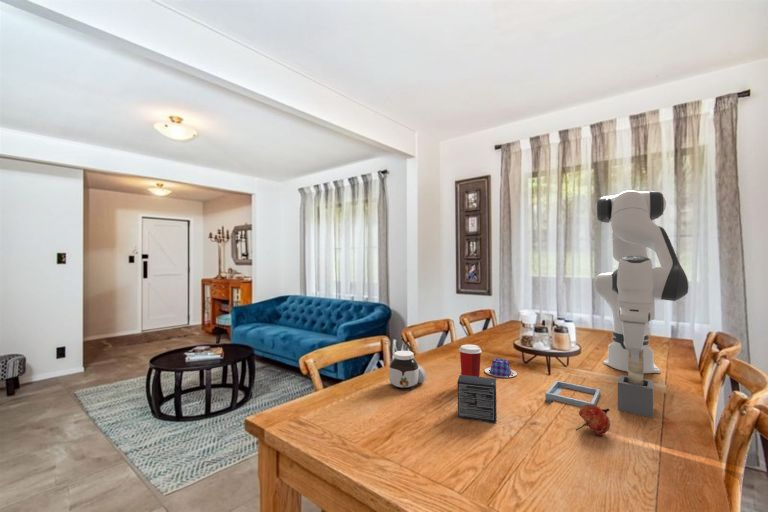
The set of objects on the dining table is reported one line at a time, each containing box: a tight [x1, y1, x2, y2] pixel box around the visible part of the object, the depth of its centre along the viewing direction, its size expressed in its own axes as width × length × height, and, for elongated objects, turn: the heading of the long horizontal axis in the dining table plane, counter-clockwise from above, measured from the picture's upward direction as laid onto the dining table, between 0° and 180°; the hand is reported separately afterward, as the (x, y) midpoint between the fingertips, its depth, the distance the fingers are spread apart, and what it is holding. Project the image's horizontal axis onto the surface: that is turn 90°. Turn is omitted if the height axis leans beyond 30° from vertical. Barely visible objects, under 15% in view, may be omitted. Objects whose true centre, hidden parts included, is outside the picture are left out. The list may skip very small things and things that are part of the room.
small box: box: [456, 374, 498, 424], centre depth 97 cm, size 11×6×10 cm, turn 71°
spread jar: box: [388, 350, 427, 391], centre depth 121 cm, size 12×11×12 cm
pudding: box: [484, 358, 518, 378], centre depth 133 cm, size 12×12×5 cm
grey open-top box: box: [617, 374, 655, 419], centre depth 99 cm, size 8×8×9 cm
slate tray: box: [545, 380, 601, 408], centre depth 108 cm, size 14×13×2 cm
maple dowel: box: [627, 349, 644, 386], centre depth 99 cm, size 4×4×13 cm
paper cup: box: [458, 344, 482, 377], centre depth 119 cm, size 8×8×14 cm
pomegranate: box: [575, 404, 611, 436], centre depth 88 cm, size 7×7×10 cm
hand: (635, 359), depth 99 cm, fingers closed on maple dowel, 4 cm apart
